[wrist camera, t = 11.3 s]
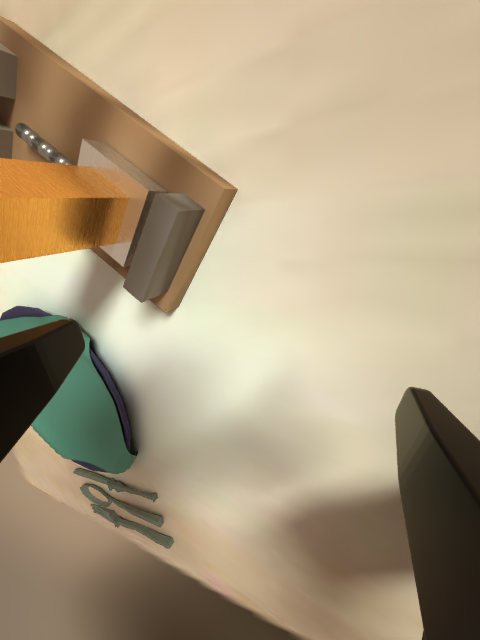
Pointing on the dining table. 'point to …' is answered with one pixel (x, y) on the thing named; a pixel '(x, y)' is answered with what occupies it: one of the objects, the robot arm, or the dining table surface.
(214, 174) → the brown piece
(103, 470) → the cutlery set
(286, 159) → the dining table surface
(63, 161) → the orange wooden beam
